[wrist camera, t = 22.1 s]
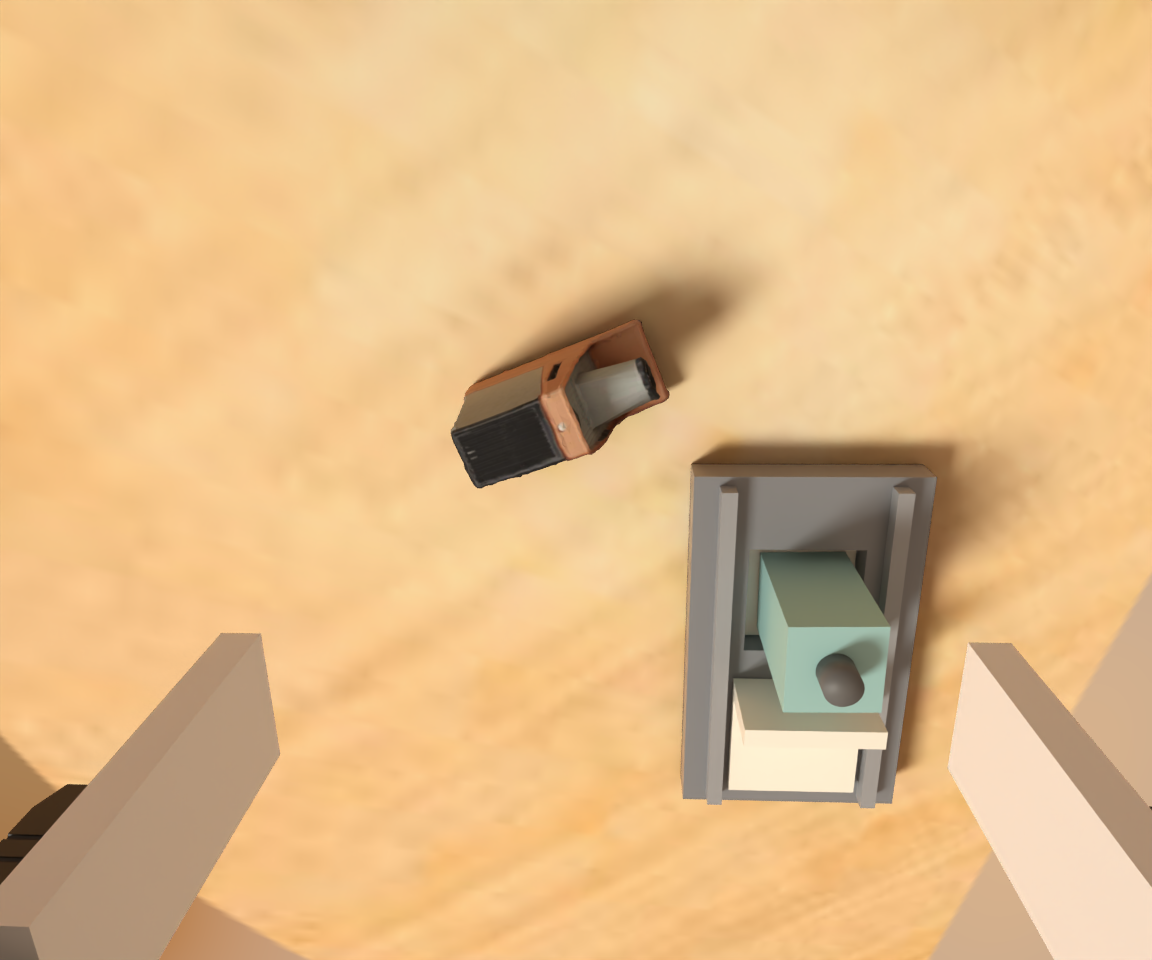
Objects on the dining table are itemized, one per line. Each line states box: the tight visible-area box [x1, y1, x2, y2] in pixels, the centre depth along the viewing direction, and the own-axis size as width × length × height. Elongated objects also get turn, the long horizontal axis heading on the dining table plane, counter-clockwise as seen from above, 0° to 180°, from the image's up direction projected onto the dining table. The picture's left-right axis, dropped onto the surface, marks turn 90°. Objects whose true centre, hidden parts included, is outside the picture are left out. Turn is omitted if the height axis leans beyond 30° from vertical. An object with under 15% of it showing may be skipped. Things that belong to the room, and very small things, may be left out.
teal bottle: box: [757, 552, 891, 713], centre depth 41 cm, size 4×4×10 cm
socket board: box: [681, 464, 937, 808], centre depth 46 cm, size 20×12×3 cm, turn 1°
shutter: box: [727, 678, 888, 793], centre depth 45 cm, size 7×7×5 cm
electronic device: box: [451, 320, 669, 488], centre depth 40 cm, size 4×10×8 cm, turn 113°
